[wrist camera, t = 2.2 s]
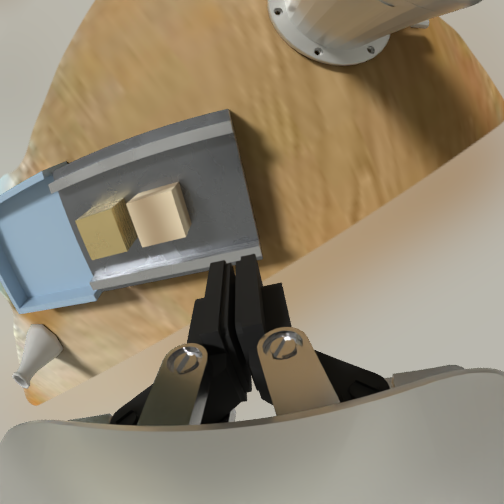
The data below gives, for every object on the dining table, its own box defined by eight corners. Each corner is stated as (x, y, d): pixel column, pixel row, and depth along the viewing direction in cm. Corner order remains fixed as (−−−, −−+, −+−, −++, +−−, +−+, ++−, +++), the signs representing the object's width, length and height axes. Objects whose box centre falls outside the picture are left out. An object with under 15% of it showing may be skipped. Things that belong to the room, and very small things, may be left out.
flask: (70, 350, 39) (47, 396, 30) (48, 357, 40) (27, 398, 31) (42, 317, 36) (13, 361, 27) (22, 327, 37) (-4, 367, 28)
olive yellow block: (123, 197, 24) (110, 208, 22) (137, 237, 26) (127, 251, 24) (89, 209, 25) (75, 220, 22) (104, 246, 26) (91, 260, 24)
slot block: (229, 109, 25) (227, 108, 20) (260, 241, 31) (263, 265, 27) (70, 163, 26) (44, 174, 22) (113, 273, 32) (97, 298, 28)
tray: (66, 161, 26) (41, 171, 22) (111, 277, 33) (96, 300, 28) (-7, 201, 27) (-29, 214, 23) (35, 294, 34) (19, 314, 29)
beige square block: (178, 181, 24) (171, 190, 21) (191, 223, 26) (186, 237, 23) (137, 193, 24) (126, 203, 22) (151, 233, 26) (142, 247, 23)
